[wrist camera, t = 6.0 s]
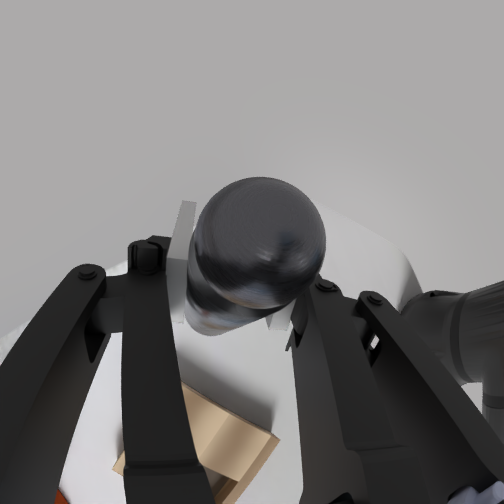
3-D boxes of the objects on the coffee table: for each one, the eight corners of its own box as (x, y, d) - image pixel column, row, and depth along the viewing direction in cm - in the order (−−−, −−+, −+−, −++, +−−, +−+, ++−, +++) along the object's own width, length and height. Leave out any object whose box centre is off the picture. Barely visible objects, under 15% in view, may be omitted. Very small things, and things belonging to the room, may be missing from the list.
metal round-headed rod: (247, 302, 19) (373, 207, 6) (218, 346, 18) (311, 336, 5) (203, 272, 19) (254, 123, 6) (173, 315, 18) (156, 229, 5)
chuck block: (271, 432, 27) (280, 439, 25) (214, 510, 23) (218, 522, 20) (174, 376, 27) (173, 379, 24) (117, 459, 22) (111, 469, 20)
